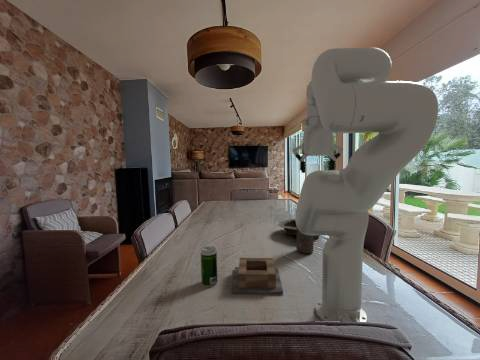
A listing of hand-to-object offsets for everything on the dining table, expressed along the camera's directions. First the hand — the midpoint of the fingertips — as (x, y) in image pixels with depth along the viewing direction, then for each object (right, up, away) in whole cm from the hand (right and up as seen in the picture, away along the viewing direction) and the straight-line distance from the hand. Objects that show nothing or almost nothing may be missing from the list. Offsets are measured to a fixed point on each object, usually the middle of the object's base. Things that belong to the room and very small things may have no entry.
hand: (317, 172), depth 82 cm
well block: (-22, -38, -2) cm, 43 cm away
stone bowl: (+6, -33, +44) cm, 55 cm away
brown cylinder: (+2, -35, +21) cm, 41 cm away
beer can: (-38, -38, -3) cm, 54 cm away
